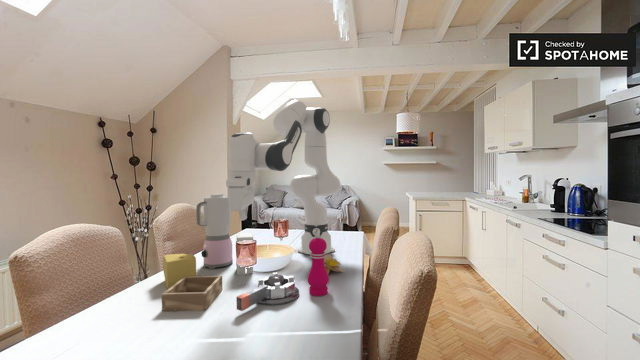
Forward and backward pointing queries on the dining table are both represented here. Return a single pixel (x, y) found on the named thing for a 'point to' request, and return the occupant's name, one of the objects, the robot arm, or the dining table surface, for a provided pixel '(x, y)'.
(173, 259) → the cheese
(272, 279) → the domed metal lid
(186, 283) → the square wooden frame
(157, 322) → the dining table surface
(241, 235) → the skincare box
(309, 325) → the dining table surface
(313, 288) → the pepper mill
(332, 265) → the decorative flower
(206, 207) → the blender
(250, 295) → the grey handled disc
